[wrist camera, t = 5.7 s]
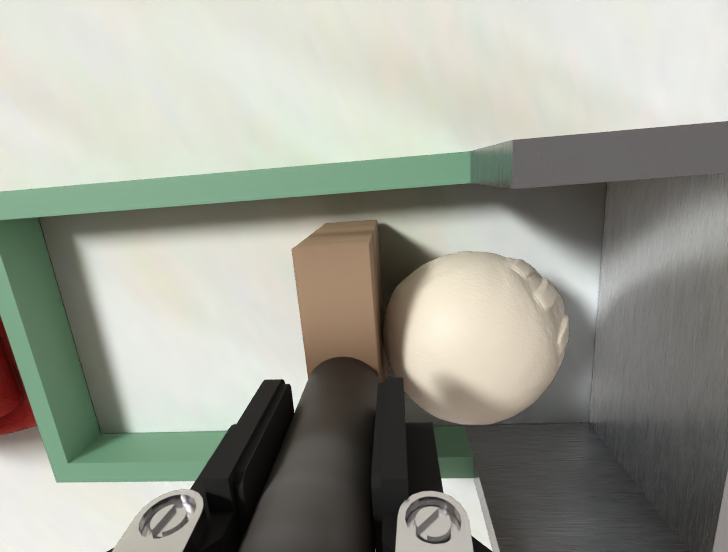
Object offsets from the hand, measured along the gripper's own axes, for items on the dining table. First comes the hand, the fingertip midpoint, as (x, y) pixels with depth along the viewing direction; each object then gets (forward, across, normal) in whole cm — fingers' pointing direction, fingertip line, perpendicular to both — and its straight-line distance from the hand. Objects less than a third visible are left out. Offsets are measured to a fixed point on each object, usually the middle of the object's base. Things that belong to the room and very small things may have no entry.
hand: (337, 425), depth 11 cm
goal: (+9, -9, 0) cm, 13 cm away
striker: (+9, 0, 0) cm, 9 cm away
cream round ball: (+9, -5, 0) cm, 10 cm away
